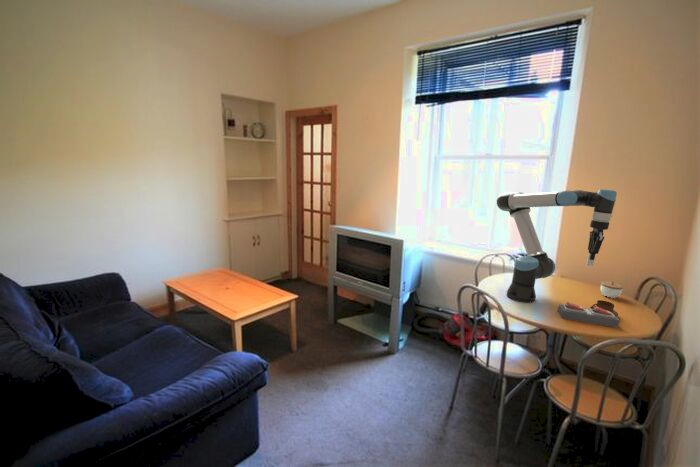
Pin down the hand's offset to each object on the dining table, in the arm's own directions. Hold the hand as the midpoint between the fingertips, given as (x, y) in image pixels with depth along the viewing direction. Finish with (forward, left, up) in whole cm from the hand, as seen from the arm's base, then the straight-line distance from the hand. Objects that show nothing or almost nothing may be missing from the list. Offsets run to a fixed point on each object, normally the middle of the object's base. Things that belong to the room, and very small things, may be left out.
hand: (589, 265), depth 176 cm
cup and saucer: (+12, +3, -26) cm, 29 cm away
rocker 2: (+6, -9, -20) cm, 23 cm away
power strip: (0, -9, -26) cm, 28 cm away
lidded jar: (+25, +35, -26) cm, 51 cm away
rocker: (-6, -9, -20) cm, 23 cm away
